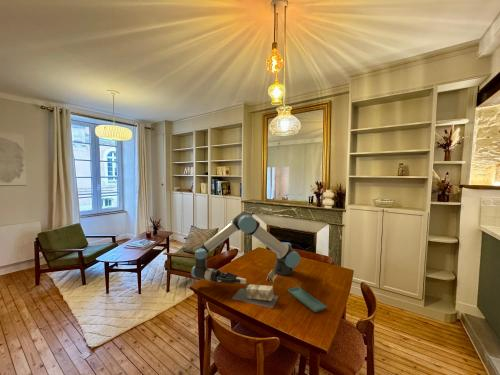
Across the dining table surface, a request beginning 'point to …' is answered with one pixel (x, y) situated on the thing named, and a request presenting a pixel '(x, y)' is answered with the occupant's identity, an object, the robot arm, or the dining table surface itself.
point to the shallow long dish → (307, 299)
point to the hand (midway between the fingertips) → (245, 281)
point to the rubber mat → (242, 297)
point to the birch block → (259, 292)
